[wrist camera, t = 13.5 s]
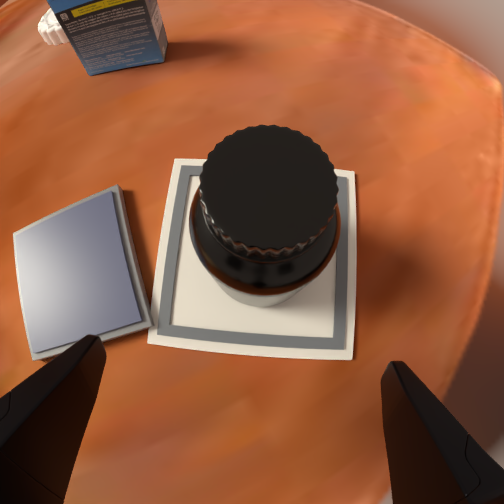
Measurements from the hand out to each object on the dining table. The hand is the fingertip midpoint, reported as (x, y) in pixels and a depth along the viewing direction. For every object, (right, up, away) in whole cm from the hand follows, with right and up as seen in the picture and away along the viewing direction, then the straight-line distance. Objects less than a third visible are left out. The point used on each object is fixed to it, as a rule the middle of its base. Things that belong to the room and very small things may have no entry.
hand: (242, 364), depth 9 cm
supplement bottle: (+1, +3, +13) cm, 14 cm away
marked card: (+1, +3, +13) cm, 14 cm away
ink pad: (-13, +1, +13) cm, 19 cm away
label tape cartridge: (-13, +24, +19) cm, 33 cm away
